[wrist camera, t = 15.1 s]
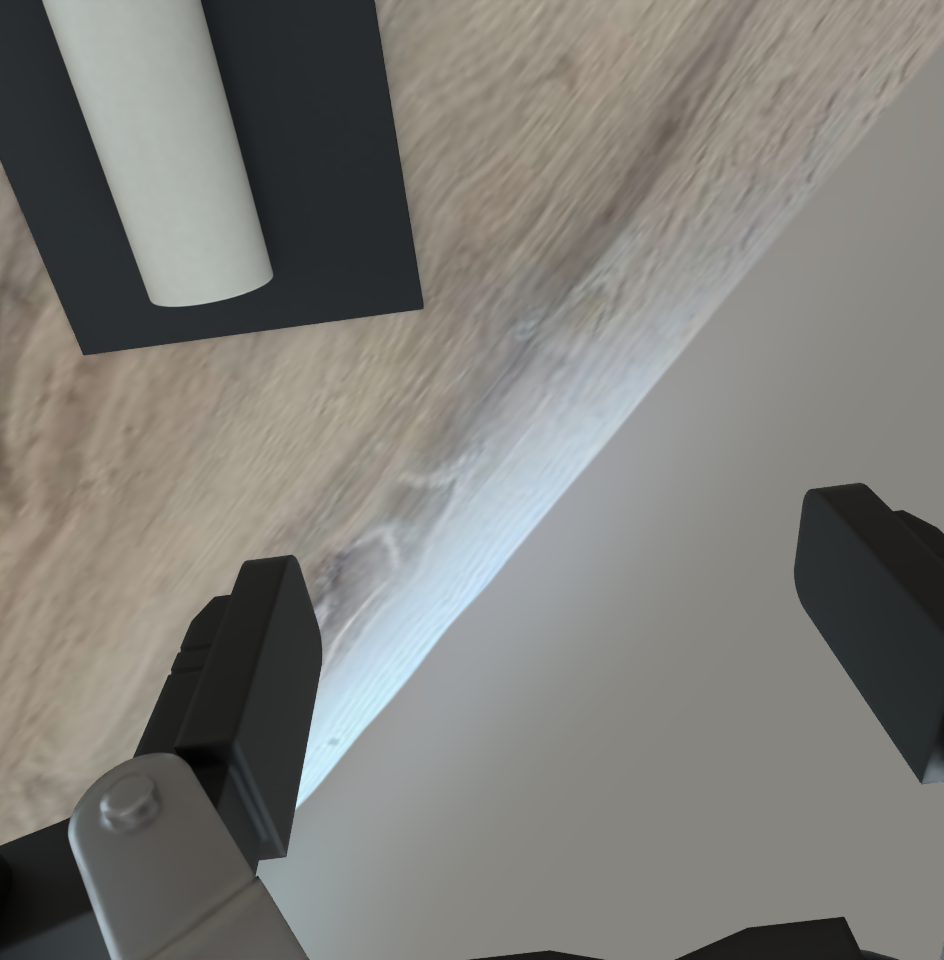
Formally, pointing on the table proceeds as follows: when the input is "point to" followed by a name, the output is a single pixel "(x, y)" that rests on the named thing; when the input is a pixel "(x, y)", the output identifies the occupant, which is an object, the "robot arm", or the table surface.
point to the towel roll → (165, 144)
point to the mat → (269, 166)
